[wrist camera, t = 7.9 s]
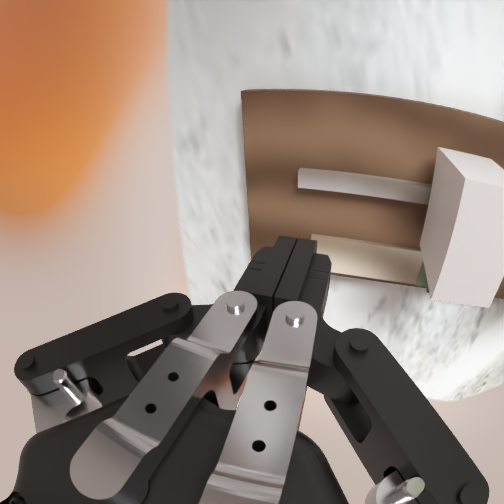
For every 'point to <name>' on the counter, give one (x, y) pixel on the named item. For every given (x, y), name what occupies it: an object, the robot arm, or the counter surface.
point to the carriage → (464, 229)
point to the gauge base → (353, 174)
